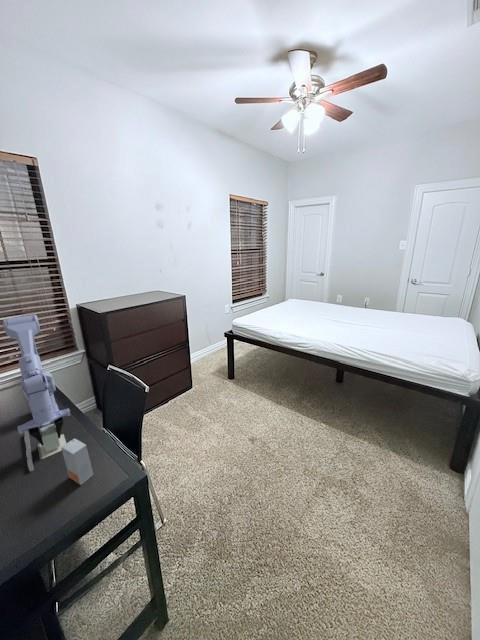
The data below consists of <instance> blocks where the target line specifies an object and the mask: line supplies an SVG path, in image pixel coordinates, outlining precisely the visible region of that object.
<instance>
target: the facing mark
mask: <svg viewBox="0 0 480 640" xmlns="http://www.w3.org/2000/svg"><path fill="white" fill-rule="evenodd" d="M64 434H65V433H63V434H60V436H61V438H59V442H60V443H59V444H60V447H57V448H55V449H53V450H50V451H48V452H46V449H45V448H44V445H41V444H40V443H38V444H36V445H37V450H38V454H39V461H41V460H44V459H47V458H48V457H50V456H53V455H55V454H57V453H59V452H62V449H61V447H62V446H64V445H65V444H67V443H68V442H67V441H66V438H65V435H64Z"/></svg>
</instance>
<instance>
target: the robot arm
mask: <svg viewBox="0 0 480 640" xmlns="http://www.w3.org/2000/svg"><path fill="white" fill-rule="evenodd" d="M2 325H3V330H4V332H5V334H6V335H7V336H8V337H9V338H10V339H13V340H16V342H17V345H18V347H19V351H20V353H21V357H20V358H19V360H18V364H19V370H20V375H21V380H20V386H21V390H22V392H23V394H24V396H25V398H26V401H27V402H28V405H29V409H30V412H31V416H32V418H33V419H31V420H28V421H27V422H24V423H22V424H21V425H20V424H19V425H18V426H17V432H18V434H19V435H21V434H24V432H25V431H27V430H28V433H29V436H31V437H33V438H35V439H36V440H37V441H38V443H39V444H41V445H44V444H43V441H42V437H41V430H40V428H39V427H42V428H43V427H46V426H48V425H51V423H52V422H54V426H55V428H56V431H57V435H58V438H61V436H60V435H61V433H62V432H61V431H62V427H63V425H64V417H69V416H71V410H70V408H69V407H68V408H66V409H62V410H60V409H59V405H58V404H57V402H56V399H55V395H54V392H56V391H57V389H56V384H55V380H54V377H53V375H52V373H50V372H48V371H44V369H43V365H42V361H41V357H40V355H39V353H38V350H37V349H38V348H37V345H36V342H35V336H36V335H37V334H39V333H40V332H41V326H40V323H39V319H38V316H37V315H36V314H32V315H24V316H17V317H11V318H10V317H9V318H4V319H3V320H2Z"/></svg>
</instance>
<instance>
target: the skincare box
mask: <svg viewBox="0 0 480 640" xmlns="http://www.w3.org/2000/svg"><path fill="white" fill-rule="evenodd" d="M66 443H67V444H65V445H64V446H62V447H61V449H62V451H61V452H62V456H63V460H64V463H65V466H66V470H67V474H68V478H70V479H71V480H73V481H74V482H75V483H77V484H78V485H80V486H82V485H83V484H85V483H86V482H87V481H88V480H89V479H91V477H93V476H94V472H93V468H92V463H91V460H90V455H89V452H88V448H87V444H85V443H84V442H82V440H81V441H80V440H79V439H77V438H73V439H72V440H69V441H68V442H66Z"/></svg>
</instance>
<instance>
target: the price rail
mask: <svg viewBox="0 0 480 640" xmlns="http://www.w3.org/2000/svg"><path fill="white" fill-rule="evenodd" d="M23 434H24V443H25V449H26V450H25V453H26V458H27V459H26V460H27V467H28V470H29V472H33V471H35V470H34V463H33V455H32V448H31V441H30V434H29V430H27V431H24V432H23Z"/></svg>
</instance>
